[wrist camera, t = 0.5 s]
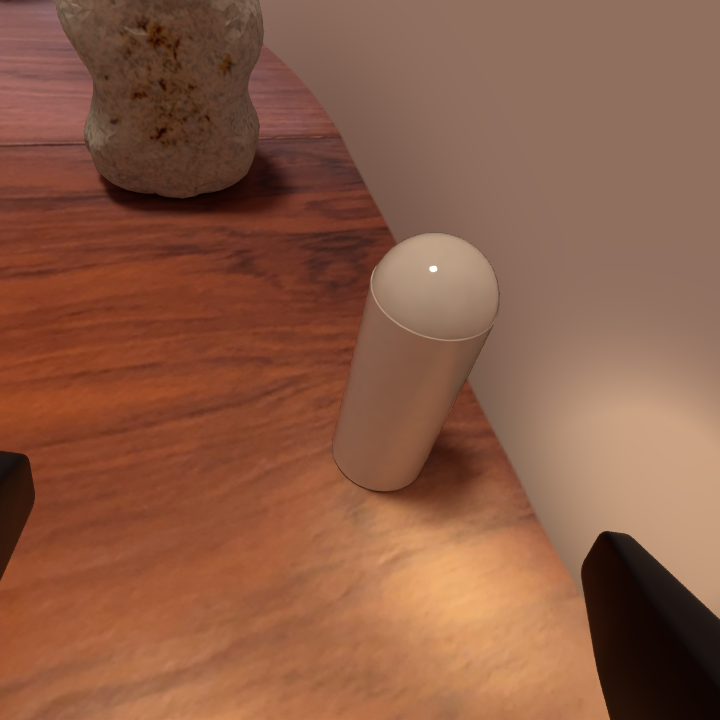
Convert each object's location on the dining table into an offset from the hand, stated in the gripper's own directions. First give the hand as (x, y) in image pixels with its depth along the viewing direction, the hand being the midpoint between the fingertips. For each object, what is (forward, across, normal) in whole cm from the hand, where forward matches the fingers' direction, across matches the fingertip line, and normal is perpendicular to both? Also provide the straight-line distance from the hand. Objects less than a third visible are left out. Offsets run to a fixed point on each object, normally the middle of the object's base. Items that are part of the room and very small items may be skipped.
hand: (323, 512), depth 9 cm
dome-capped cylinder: (+16, -4, +12) cm, 20 cm away
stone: (+36, +12, +6) cm, 39 cm away
